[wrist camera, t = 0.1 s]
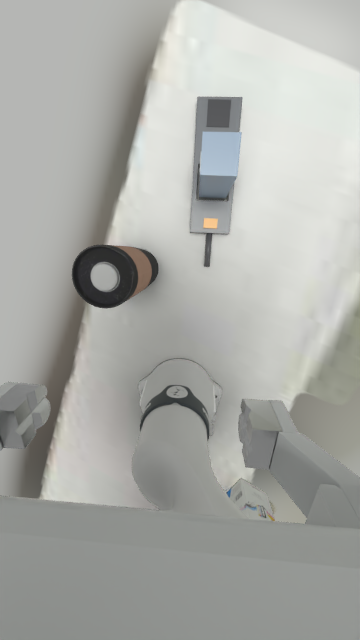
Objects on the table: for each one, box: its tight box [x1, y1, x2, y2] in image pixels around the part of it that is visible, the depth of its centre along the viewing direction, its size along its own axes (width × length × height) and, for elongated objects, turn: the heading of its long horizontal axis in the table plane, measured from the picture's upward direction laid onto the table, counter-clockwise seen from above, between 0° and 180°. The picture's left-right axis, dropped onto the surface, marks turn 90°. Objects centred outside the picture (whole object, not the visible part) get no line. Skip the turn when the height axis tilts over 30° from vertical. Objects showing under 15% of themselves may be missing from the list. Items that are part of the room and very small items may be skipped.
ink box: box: [227, 479, 275, 521], centre depth 55 cm, size 9×8×12 cm
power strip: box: [190, 97, 242, 267], centre depth 41 cm, size 26×7×2 cm, turn 177°
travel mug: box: [72, 245, 158, 308], centre depth 37 cm, size 8×8×20 cm
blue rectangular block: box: [199, 132, 242, 201], centre depth 35 cm, size 5×5×14 cm
